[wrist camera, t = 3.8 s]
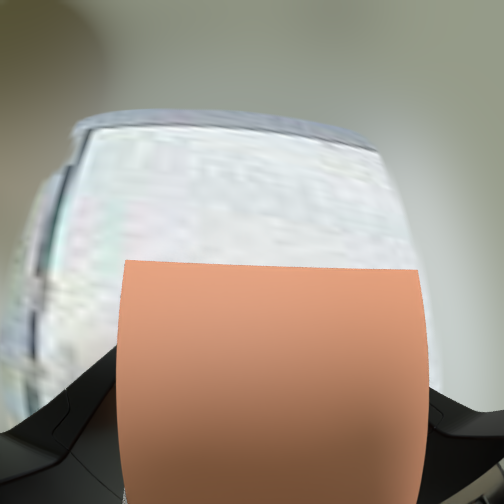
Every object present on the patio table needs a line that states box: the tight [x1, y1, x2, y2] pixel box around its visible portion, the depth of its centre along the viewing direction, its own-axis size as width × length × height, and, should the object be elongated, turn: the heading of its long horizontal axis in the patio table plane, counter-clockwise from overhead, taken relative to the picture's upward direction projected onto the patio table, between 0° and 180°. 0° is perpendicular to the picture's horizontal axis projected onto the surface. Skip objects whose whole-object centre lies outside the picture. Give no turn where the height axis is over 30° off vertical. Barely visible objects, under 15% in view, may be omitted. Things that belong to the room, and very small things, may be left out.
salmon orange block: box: [116, 260, 429, 504], centre depth 8 cm, size 4×4×12 cm
